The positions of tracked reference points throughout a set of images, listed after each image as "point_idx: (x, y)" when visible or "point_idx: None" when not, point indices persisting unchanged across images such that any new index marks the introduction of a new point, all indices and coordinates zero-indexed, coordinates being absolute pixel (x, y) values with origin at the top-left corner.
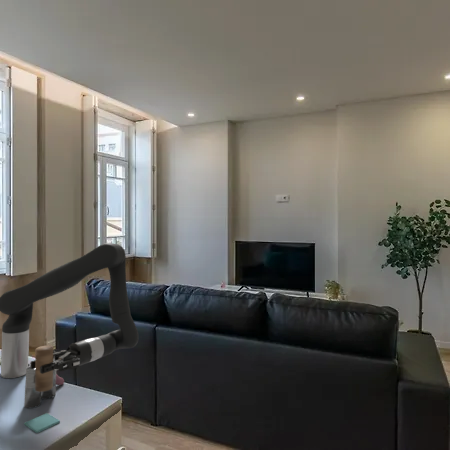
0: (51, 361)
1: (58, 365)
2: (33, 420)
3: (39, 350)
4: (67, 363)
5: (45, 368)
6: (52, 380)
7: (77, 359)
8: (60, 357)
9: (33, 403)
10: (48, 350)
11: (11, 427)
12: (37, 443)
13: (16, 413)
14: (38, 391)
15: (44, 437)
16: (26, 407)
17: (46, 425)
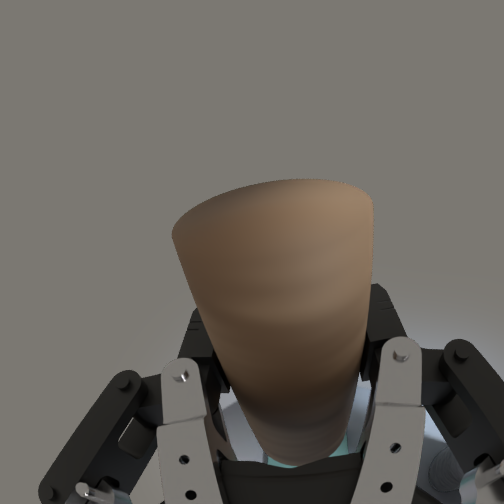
0: (214, 349)
1: (149, 381)
2: (337, 448)
3: (259, 189)
4: (115, 445)
5: (197, 313)
6: (259, 440)
7: (45, 482)
8: (186, 428)
9: (434, 465)
10: (179, 220)
11: (356, 400)
12: (225, 415)
13: (427, 424)
14: (452, 470)
15: (233, 438)
16: (441, 451)
17: (274, 463)
